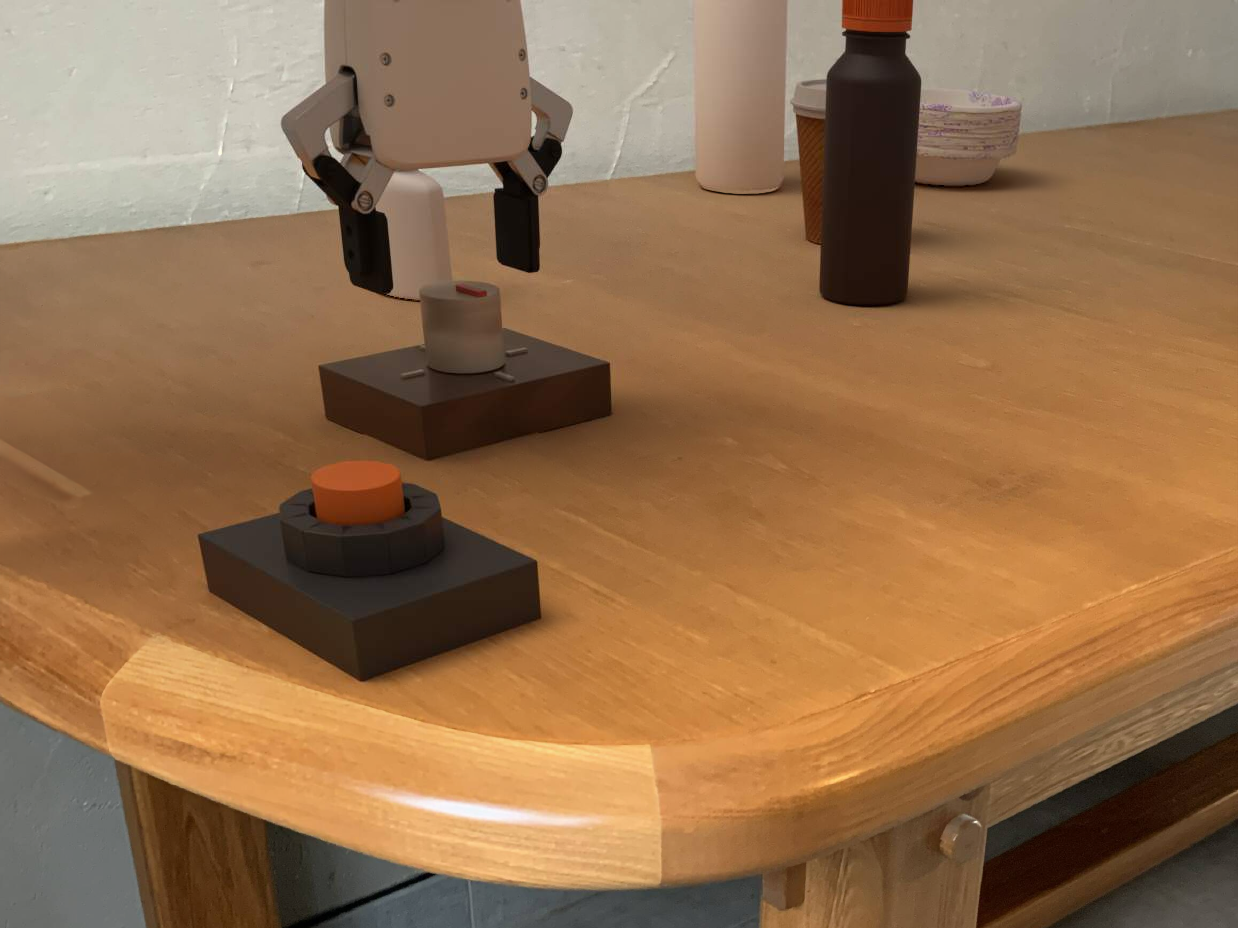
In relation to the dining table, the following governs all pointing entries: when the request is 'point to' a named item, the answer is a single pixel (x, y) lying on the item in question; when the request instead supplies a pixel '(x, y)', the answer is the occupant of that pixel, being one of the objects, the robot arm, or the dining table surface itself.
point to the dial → (462, 326)
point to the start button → (357, 493)
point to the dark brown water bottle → (870, 157)
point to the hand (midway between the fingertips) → (447, 278)
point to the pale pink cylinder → (740, 93)
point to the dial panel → (465, 396)
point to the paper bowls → (964, 135)
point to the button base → (371, 582)
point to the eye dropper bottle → (415, 232)
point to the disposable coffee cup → (811, 150)
